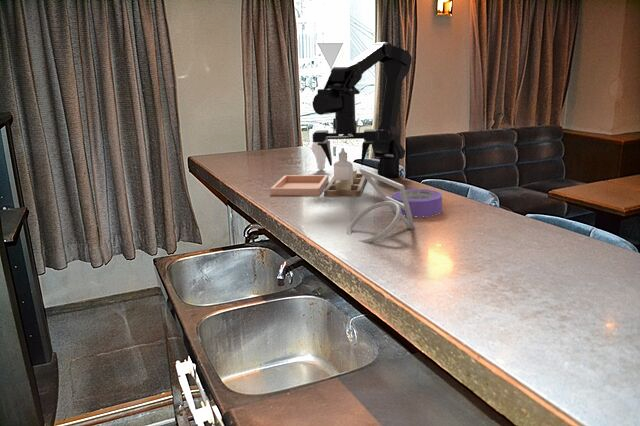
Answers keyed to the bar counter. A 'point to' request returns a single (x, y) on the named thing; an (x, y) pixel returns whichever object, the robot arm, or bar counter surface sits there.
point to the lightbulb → (319, 155)
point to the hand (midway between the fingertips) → (346, 165)
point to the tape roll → (421, 202)
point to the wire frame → (388, 202)
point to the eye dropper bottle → (343, 168)
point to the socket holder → (355, 190)
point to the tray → (300, 185)
